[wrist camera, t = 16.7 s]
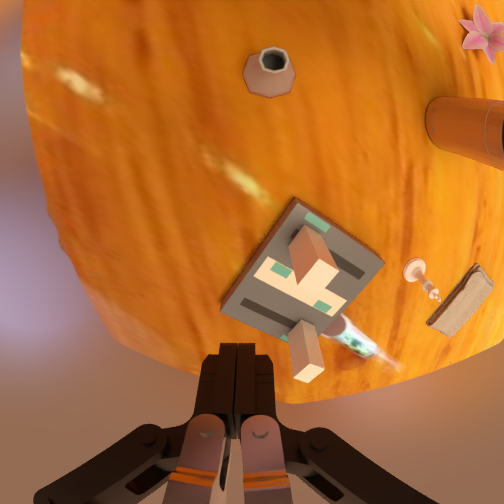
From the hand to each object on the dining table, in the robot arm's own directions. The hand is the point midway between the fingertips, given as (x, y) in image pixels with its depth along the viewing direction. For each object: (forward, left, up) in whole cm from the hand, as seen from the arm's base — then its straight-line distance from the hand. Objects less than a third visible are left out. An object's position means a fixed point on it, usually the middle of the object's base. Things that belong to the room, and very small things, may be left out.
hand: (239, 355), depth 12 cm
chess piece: (-30, +15, -31) cm, 46 cm away
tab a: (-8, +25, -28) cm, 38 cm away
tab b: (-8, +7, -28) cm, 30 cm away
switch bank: (-8, +16, -31) cm, 36 cm away
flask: (-3, -16, -31) cm, 35 cm away
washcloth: (-48, +24, -32) cm, 62 cm away
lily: (-40, -31, -31) cm, 60 cm away
